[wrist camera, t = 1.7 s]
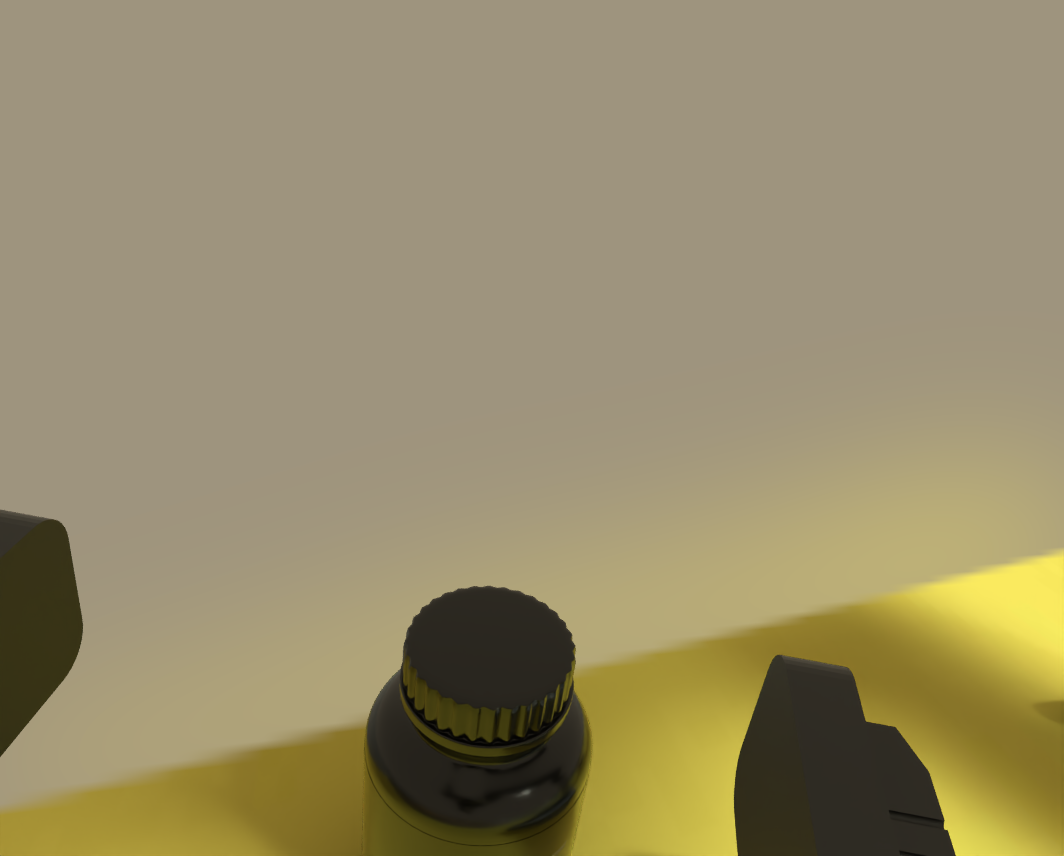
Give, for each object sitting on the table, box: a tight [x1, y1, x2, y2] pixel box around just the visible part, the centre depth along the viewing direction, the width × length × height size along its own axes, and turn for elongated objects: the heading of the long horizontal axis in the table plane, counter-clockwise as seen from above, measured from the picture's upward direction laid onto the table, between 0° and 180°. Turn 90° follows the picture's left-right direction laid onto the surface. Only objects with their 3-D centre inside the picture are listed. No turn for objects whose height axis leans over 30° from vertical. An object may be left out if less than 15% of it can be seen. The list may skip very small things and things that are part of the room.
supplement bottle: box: [362, 586, 592, 856], centre depth 27 cm, size 7×7×12 cm
